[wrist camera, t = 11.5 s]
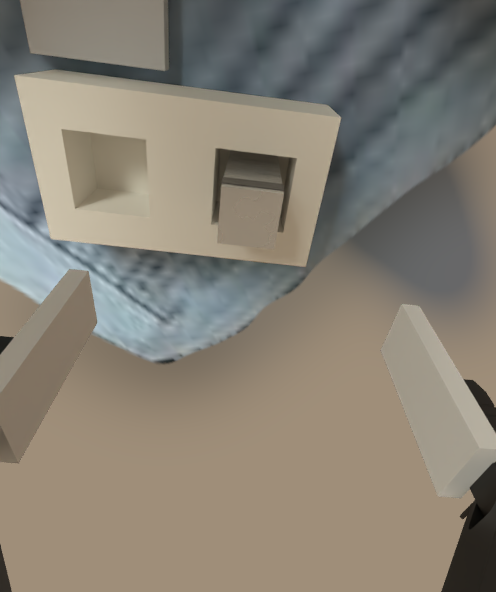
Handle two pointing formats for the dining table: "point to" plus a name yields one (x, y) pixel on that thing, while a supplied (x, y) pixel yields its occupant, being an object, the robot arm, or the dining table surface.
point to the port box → (168, 161)
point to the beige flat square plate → (100, 30)
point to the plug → (250, 200)
